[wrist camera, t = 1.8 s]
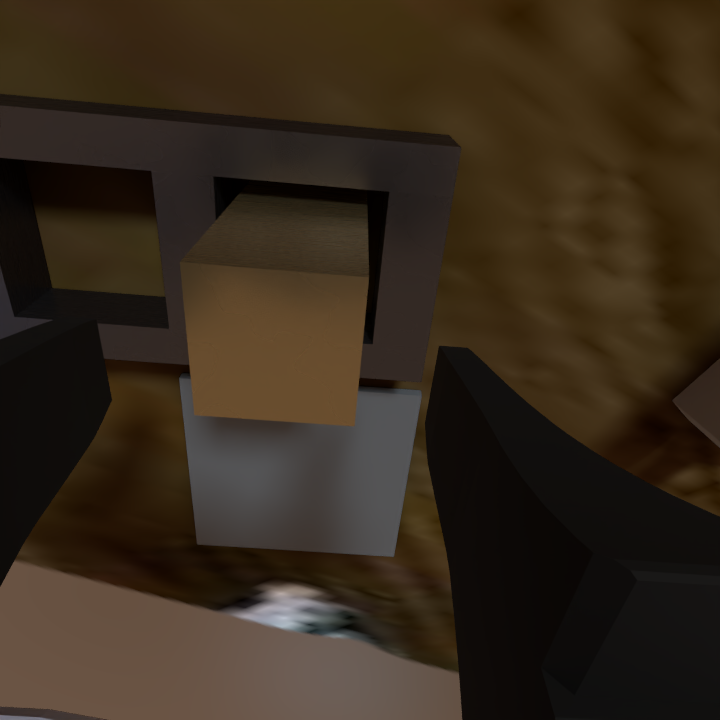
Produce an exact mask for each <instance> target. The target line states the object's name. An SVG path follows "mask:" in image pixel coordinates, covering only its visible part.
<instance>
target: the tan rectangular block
mask: <svg viewBox="0 0 720 720" xmlns="http://www.w3.org/2000/svg"><path fill="white" fill-rule="evenodd" d="M180 270H181V280H182V291H183V301H184V312H185V322H186V333H187V344H188V354H189V365H190V375H191V386H192V396H193V407H194V415H199V416H213V417H227V418H241V419H255V420H270V421H284V422H298V423H312V424H327V425H341V426H355V416H356V406H357V396H358V386H359V376H360V365H361V355H362V345H363V335H364V325H365V314H366V304H367V294H368V284H369V251H368V209H367V191H363V190H351V189H340V188H328V187H317V186H305V185H294V184H283V183H271V182H260V181H250V182H249V183H248V184H247V185H246V186H245V188H244V189H243V190H242V191H241V192H240V193H239V194H238V196H237V197H236V198H235V199H234V200H233V201H232V203H231V204H230V205H229V206H228V207H227V208H226V209H225V211H224V212H223V213H222V214H221V215H220V216H219V218H218V219H217V220H216V221H215V222H214V223H213V224H212V226H211V227H210V228H209V229H208V230H207V231H206V232H205V234H204V235H203V236H202V237H201V238H200V239H199V241H198V242H197V243H196V244H195V245H194V246H193V247H192V249H191V250H190V251H189V252H188V253H187V254H186V256H185V257H184V258H183V259H182V260H181V261H180Z"/></svg>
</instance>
